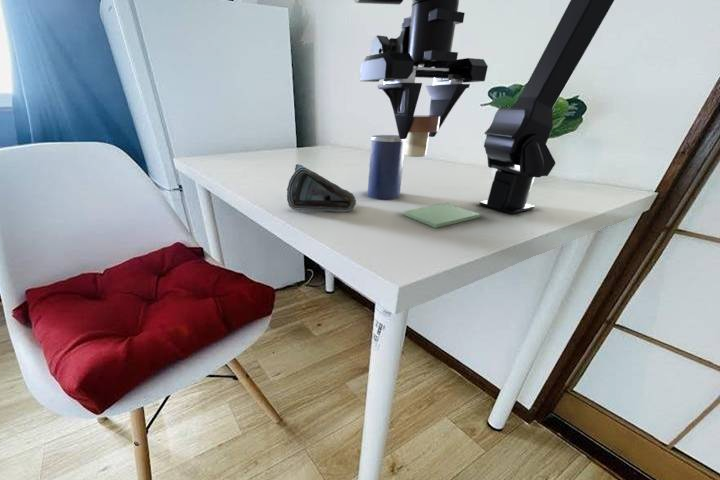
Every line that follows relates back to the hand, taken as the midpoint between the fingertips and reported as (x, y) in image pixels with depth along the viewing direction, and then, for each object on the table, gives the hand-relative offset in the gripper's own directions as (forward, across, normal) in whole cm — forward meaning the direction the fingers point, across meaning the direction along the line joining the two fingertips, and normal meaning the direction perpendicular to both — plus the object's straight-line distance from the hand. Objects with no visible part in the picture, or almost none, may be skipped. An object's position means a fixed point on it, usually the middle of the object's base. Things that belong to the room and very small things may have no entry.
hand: (417, 137), depth 46 cm
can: (+12, -4, -11) cm, 17 cm away
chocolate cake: (+12, +10, -11) cm, 19 cm away
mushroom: (+2, 0, 0) cm, 3 cm away
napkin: (+12, -4, +4) cm, 13 cm away
